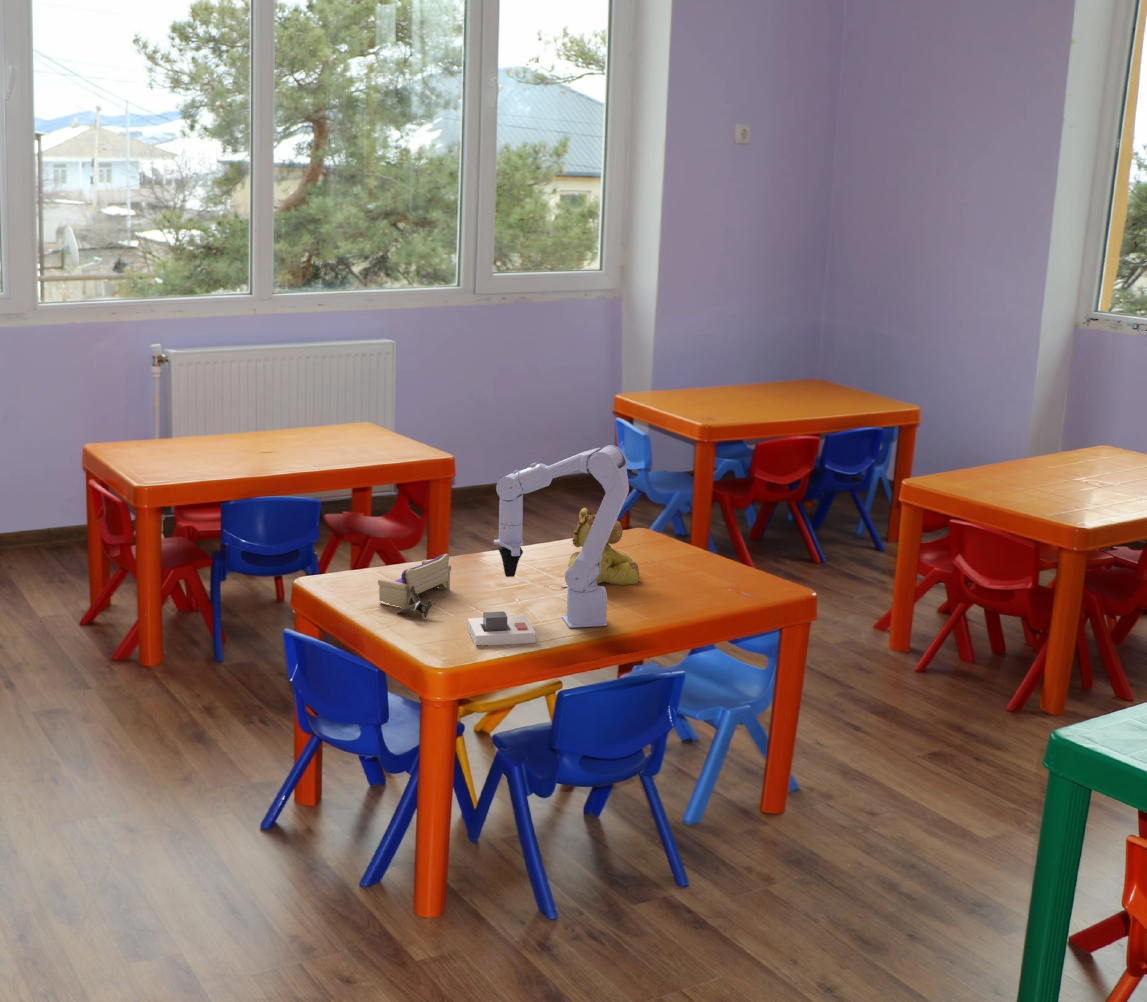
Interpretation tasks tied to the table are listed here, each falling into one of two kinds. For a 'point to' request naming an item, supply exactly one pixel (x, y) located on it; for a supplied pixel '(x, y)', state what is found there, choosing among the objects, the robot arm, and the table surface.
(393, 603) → the toy sofa
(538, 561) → the table surface
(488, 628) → the plug
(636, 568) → the giraffe plush
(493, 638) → the socket
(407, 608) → the eagle figurine
